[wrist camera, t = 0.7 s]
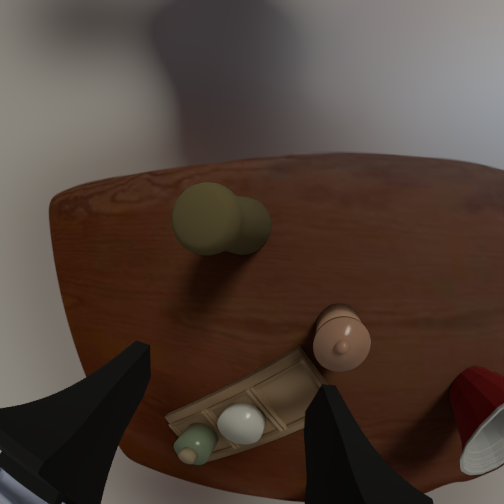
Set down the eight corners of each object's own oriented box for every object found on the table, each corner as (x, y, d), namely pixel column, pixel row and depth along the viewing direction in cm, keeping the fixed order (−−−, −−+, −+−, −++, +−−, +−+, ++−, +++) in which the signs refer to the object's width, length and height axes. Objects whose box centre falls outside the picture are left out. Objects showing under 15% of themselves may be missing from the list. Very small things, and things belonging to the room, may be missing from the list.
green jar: (225, 442, 29) (210, 467, 24) (201, 449, 30) (186, 472, 25) (203, 418, 29) (186, 442, 24) (181, 427, 30) (162, 449, 25)
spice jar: (369, 329, 26) (382, 354, 19) (330, 354, 27) (332, 386, 20) (344, 292, 26) (352, 309, 20) (305, 319, 27) (301, 343, 21)
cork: (214, 254, 29) (158, 262, 19) (215, 198, 29) (159, 176, 18) (271, 255, 28) (241, 264, 17) (271, 195, 28) (241, 167, 17)
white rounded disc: (274, 426, 27) (271, 436, 25) (240, 439, 28) (235, 449, 26) (248, 395, 28) (243, 404, 26) (214, 410, 29) (208, 419, 27)
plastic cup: (416, 391, 24) (449, 454, 13) (483, 329, 22) (541, 365, 11) (445, 434, 23) (473, 491, 11) (505, 381, 21) (548, 422, 9)
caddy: (342, 402, 27) (343, 410, 25) (208, 457, 31) (204, 464, 29) (299, 344, 28) (297, 350, 26) (168, 413, 32) (162, 419, 30)
